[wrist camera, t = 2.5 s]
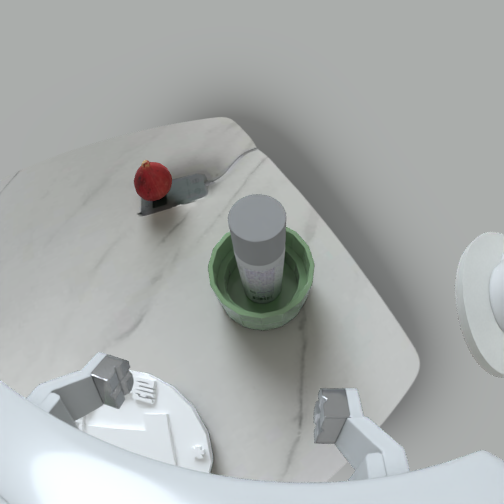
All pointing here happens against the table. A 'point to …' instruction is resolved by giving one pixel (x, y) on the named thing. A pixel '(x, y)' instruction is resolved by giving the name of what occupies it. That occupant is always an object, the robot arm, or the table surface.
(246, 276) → the container
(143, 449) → the giant coin
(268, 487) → the robot arm
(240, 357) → the table surface
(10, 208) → the table surface
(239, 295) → the green faceted pot
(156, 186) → the onion
